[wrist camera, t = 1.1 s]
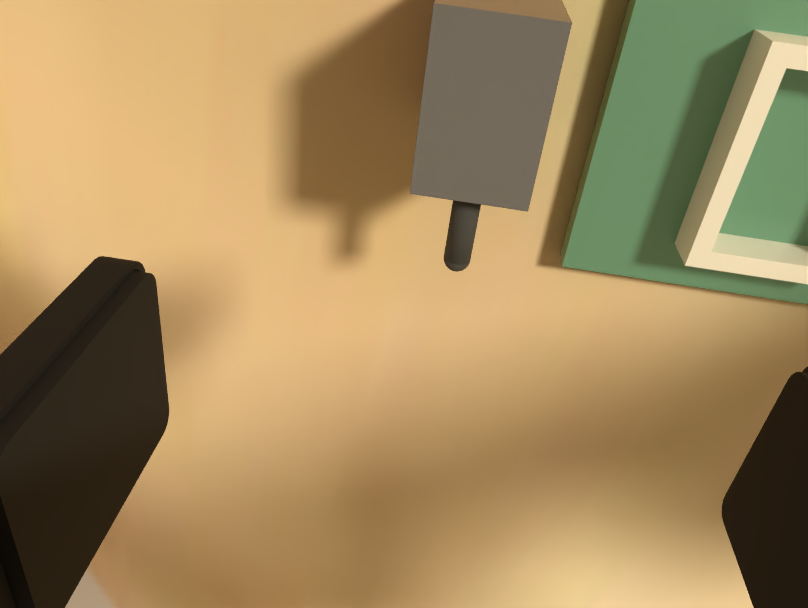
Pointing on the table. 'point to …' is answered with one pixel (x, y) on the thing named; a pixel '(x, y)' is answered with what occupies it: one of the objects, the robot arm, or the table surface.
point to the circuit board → (701, 151)
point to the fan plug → (486, 107)
